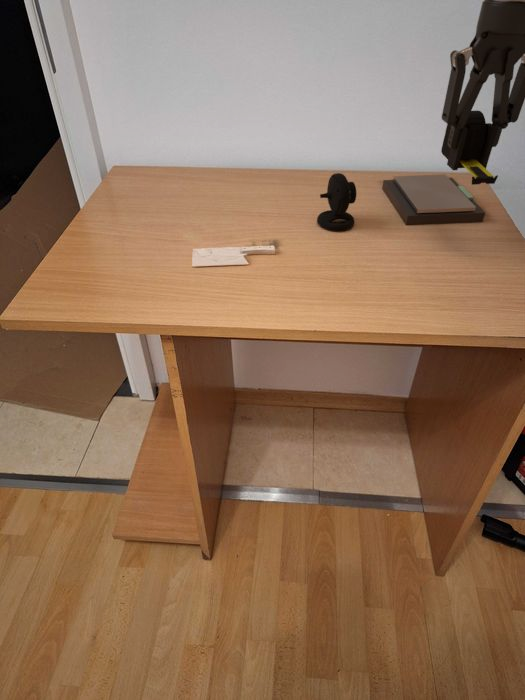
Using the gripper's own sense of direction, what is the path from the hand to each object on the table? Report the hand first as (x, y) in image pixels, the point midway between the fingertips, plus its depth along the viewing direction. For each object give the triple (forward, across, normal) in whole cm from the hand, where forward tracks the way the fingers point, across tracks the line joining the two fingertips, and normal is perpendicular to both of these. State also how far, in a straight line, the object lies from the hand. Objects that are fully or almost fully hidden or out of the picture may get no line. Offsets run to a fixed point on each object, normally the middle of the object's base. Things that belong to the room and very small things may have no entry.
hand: (466, 166), depth 82 cm
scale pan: (+12, -3, -17) cm, 21 cm away
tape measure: (0, 0, 0) cm, 0 cm away
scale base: (+15, -3, -17) cm, 22 cm away
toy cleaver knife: (+14, +40, +2) cm, 43 cm away
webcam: (+15, +19, -10) cm, 26 cm away
